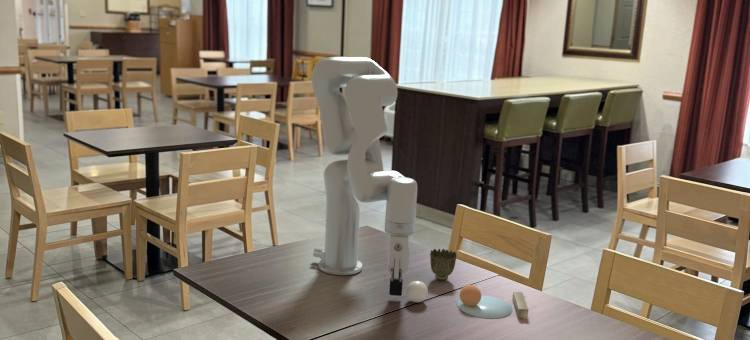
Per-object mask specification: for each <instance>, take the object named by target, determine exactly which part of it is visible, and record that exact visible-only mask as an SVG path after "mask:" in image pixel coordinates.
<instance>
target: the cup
mask: <svg viewBox="0 0 750 340" xmlns="http://www.w3.org/2000/svg"><path fill="white" fill-rule="evenodd" d="M429 256H430V270H431V272H432V273H433V274H434V278H435V280H436V281H439V282H446V281H447V280H449V276H450V275H452V274H453V272H454V270H455V266H456V263H457V262H456V261H457V252H456V251H453V250H452V249H451V250H450V251H449V249H448V248H446V249H445V248H443V249H440V248H438V249H436V248H433V249H432V250H430V253H429Z"/></svg>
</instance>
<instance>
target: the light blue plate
mask: <svg viewBox="0 0 750 340" xmlns="http://www.w3.org/2000/svg"><path fill="white" fill-rule="evenodd" d="M456 304H457V308H458V309H459V310H460V311H462V312H463V313H465V314H467V315H470V316H473V317H477V318H481V319H482V318H483V319H492V320H493V319H503V318H505V317H509V315H511V314H512V312H513V308H512V305H511V304H510V303H509V302H507V301H505V300H504V299H501V298H498V297H494V296H490V295H482V294H481V300H480V302H479V303H478V304H477V305H475V306H466V305H464V304H463V303H462V301H461V299H460V298H459V299H458V300H457V302H456Z"/></svg>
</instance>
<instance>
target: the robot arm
mask: <svg viewBox="0 0 750 340" xmlns="http://www.w3.org/2000/svg"><path fill="white" fill-rule="evenodd" d="M311 85H312V90H313V94H314V97H315V99H316V102H317V105H318V109H319V114H320V115H319V116H320V123H321V128H322V129H321V130H322V137H323V142H324V143H323V144H324V147H325V150H326V152H327V153H328V154H329V155H332V156H345V155H346V156H348V157H347V159H340V160H336V161H333V162H330V163H329V164H328V165H327V166H326V167H325V168H324V172H323V182H324V190H325V232H324V233H325V234H324V248H320V247H315V248H313V249H314V250H313V254H312V255H313V257H315V258H319V259H320V260H319V262H318V269H319V270H320V271H322V272H323V273H326V274H328V275H335V276H350V275H355V274H358V273H360V272H361V271H362V270H363V263H362V262H361V261H360V260H358V255H359V252H358V251H359V234H360V216H361V215H360V213H361V211H360V205H359V203H358V201H359V202H361V203H374V202H375V203H376V202H380V201H385V203H386V206H385V221H384V232H385V233H386V234H387V235H388V254H387V255H388V257H387V258H388V259H387V261H388V272H389V273H391V275H390V279H389V292H388V294H389V295H390V296H397V297H400V296H402V295H403V283H404V282H403V281H404V280H403V274H405V275H407V274H409V273H408V272H409V265H410V264H409V263H410V248H411V236H413V235H414V234H415V230H416V229H415V228H416V227H415V226H416V213H417V202H418V201H417V200H418V199H417V198H418V182H417V181H416V180H415V179H414V178H410V177H406V176H404V175H403V174H402V173H400V172H399V171H396V170H385V169H384V165H383V164H384V163H383V157H382V151H381V143H380V139H381V138H382V137H384V136H385V135H386V134H387V132H388V125H387V122H386V118H385V114H384V109H383V107H389V106H392V105H394V104H395V102H396V101H397V98H398V94H399V93H398V87H397V83H396V81H395V80H394V78H393V77H392V76H391V74H389V73H388V72H387V71H386V70H385V69H383V67H381V66H380V65H379V64H378V63H377V62H375V60H372V59H371V58H369V57H364V56H363V57H362V56H330V57H329V56H328V57H324V58H321V59H320V60H318V61H317V62H316V63H315V64H314V67H313V69H312V73H311ZM340 88H341V89H343V88H344V89H345V96H346V97H345V96H344V94H343V93H342V92H341V91H340ZM356 199H357V200H356Z"/></svg>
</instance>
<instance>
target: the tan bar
mask: <svg viewBox="0 0 750 340" xmlns="http://www.w3.org/2000/svg"><path fill="white" fill-rule="evenodd" d="M512 303H513V308H514V310H515V313H516V316H517V317H518V318H517V319H521V318H525V319H524V320H528V318H529V316H528V315H529V307H528V304H527V302H526V299H525V296H524V293H523V291H521V292H520V291H513V292H512Z"/></svg>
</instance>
